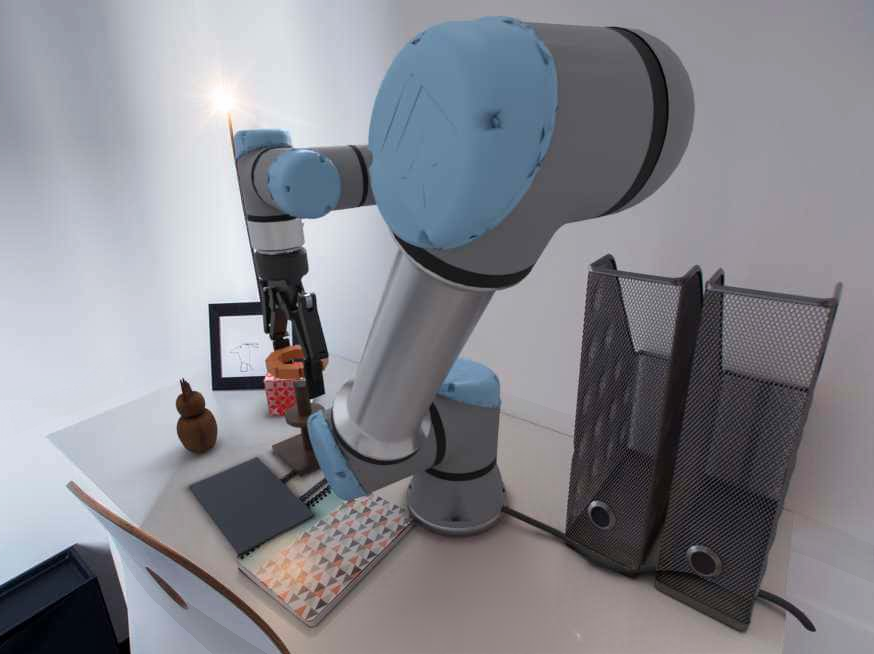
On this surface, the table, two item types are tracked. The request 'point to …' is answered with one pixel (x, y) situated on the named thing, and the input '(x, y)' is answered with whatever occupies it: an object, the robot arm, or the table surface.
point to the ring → (288, 370)
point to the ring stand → (299, 447)
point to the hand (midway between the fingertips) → (301, 385)
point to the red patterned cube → (280, 393)
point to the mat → (250, 504)
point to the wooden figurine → (195, 421)
